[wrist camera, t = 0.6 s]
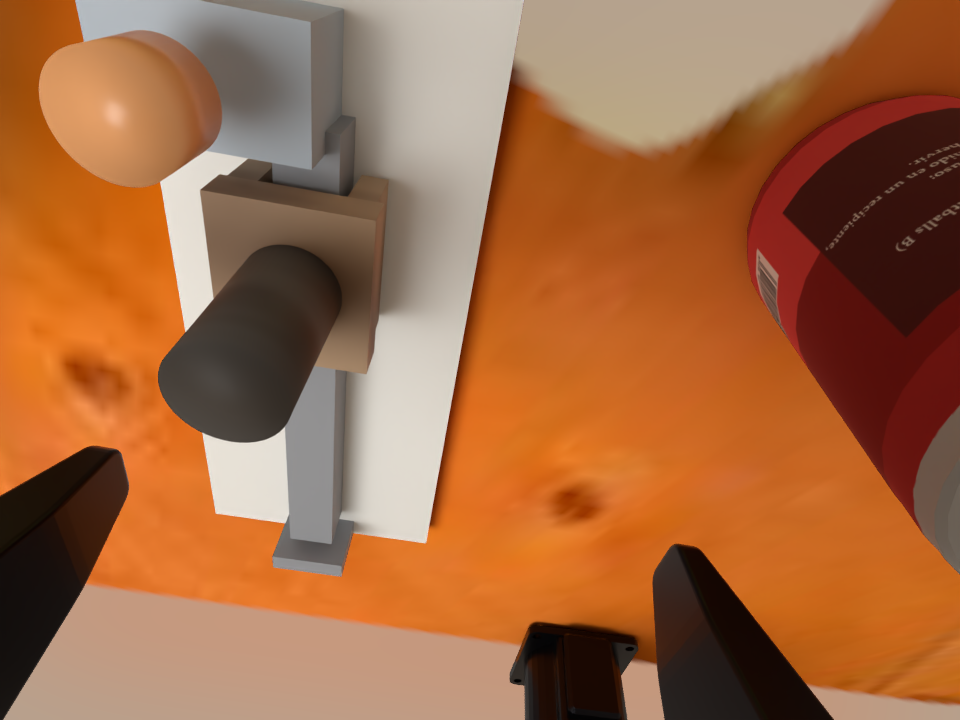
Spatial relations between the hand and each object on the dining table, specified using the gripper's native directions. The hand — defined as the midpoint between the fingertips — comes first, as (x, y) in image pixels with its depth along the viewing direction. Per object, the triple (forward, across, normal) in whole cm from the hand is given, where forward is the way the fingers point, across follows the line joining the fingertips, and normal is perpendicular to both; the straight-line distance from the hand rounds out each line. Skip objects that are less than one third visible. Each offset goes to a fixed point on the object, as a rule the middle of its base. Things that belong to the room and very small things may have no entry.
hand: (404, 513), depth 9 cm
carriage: (+11, +4, +1) cm, 11 cm away
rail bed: (+12, +4, +5) cm, 13 cm away
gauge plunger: (+6, +6, -4) cm, 10 cm away
